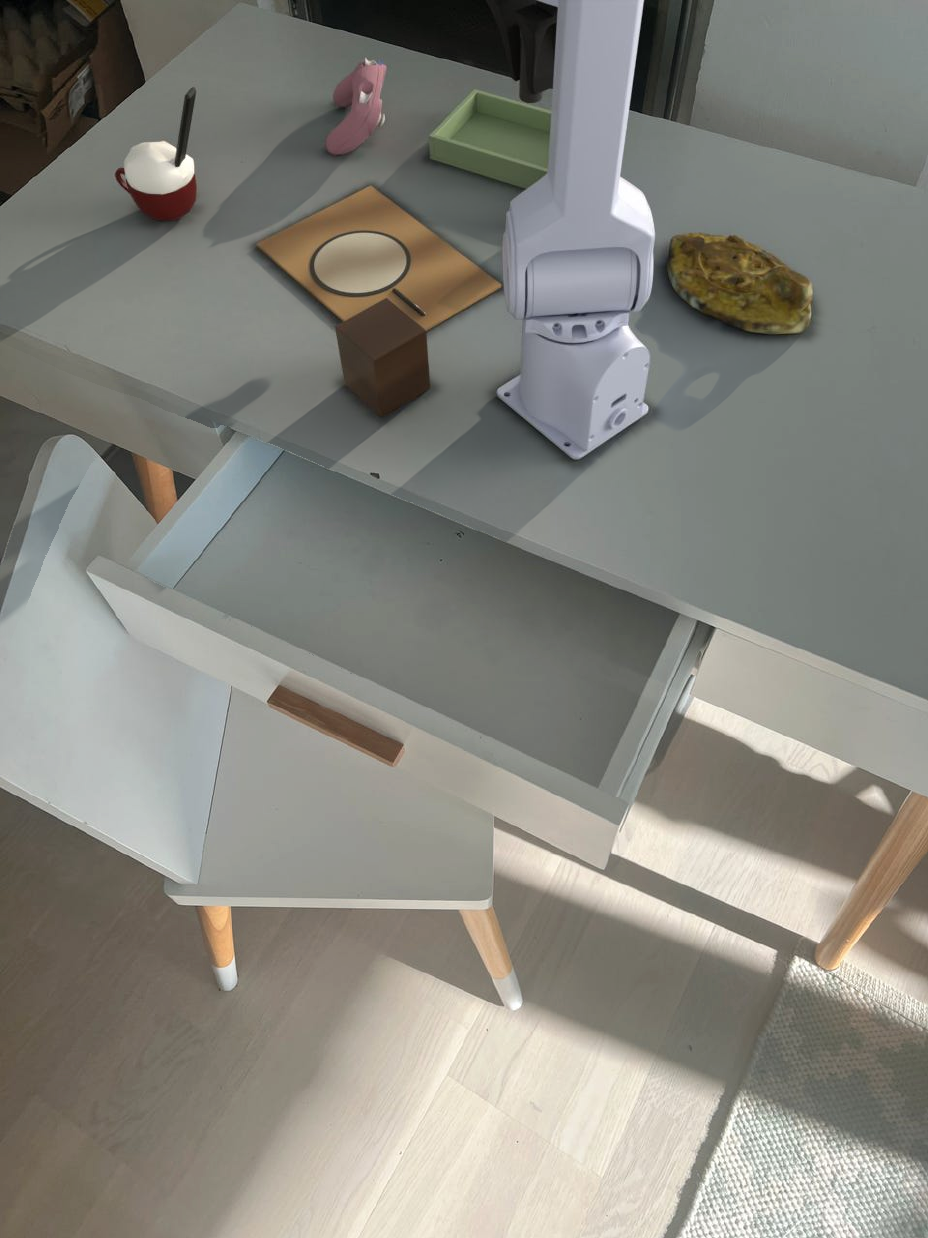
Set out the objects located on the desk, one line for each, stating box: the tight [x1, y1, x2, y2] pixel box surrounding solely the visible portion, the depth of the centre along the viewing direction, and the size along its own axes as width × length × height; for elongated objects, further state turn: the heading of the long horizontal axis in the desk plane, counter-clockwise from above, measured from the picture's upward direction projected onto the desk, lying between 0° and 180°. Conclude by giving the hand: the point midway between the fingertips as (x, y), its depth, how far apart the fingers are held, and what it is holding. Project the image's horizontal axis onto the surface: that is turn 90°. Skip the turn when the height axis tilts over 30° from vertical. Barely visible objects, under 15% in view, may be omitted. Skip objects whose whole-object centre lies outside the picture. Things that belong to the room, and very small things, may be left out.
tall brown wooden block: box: [334, 298, 431, 418], centre depth 78 cm, size 5×5×6 cm
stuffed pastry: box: [666, 232, 814, 335], centre depth 84 cm, size 9×5×15 cm
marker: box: [518, 32, 544, 104], centre depth 84 cm, size 2×2×6 cm
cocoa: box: [114, 86, 197, 222], centre depth 89 cm, size 10×6×12 cm, turn 53°
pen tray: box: [428, 88, 552, 190], centre depth 96 cm, size 15×9×2 cm, turn 61°
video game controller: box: [325, 57, 387, 156], centre depth 98 cm, size 10×5×7 cm, turn 179°
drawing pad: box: [256, 185, 502, 332], centre depth 89 cm, size 19×13×1 cm
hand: (531, 82), depth 86 cm, fingers closed on marker, 2 cm apart
